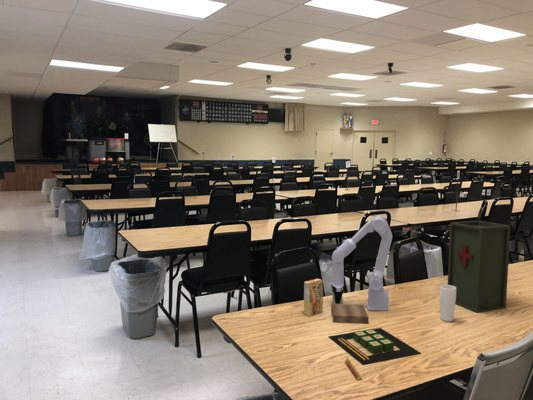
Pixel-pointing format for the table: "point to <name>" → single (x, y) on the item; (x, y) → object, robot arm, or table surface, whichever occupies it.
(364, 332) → the sushi
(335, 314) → the walnut base
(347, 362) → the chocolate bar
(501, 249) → the first aid box
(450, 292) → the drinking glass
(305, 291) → the candy box
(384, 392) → the table surface
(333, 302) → the green block
